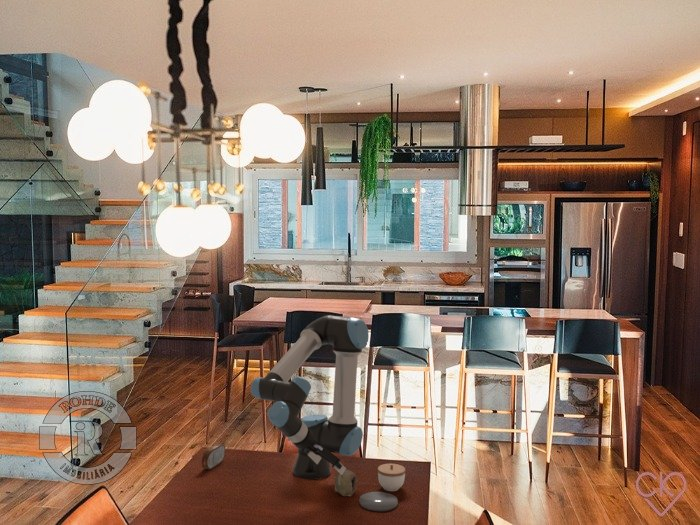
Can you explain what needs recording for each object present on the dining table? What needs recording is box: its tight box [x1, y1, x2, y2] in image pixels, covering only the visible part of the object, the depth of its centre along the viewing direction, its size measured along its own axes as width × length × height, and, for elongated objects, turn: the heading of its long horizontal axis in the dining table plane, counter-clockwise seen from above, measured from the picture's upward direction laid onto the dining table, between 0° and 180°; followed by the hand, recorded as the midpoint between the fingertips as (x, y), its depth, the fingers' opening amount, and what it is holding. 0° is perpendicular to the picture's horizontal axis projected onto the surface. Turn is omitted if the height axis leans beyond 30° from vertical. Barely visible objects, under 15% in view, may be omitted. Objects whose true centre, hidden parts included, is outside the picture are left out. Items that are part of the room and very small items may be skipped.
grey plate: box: [358, 491, 399, 512], centre depth 240 cm, size 14×14×1 cm
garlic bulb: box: [334, 468, 359, 497], centre depth 247 cm, size 9×8×10 cm
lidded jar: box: [377, 463, 406, 492], centre depth 253 cm, size 11×11×9 cm
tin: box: [201, 442, 226, 470], centre depth 272 cm, size 15×3×8 cm, turn 160°
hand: (331, 466), depth 241 cm, fingers open, 13 cm apart
